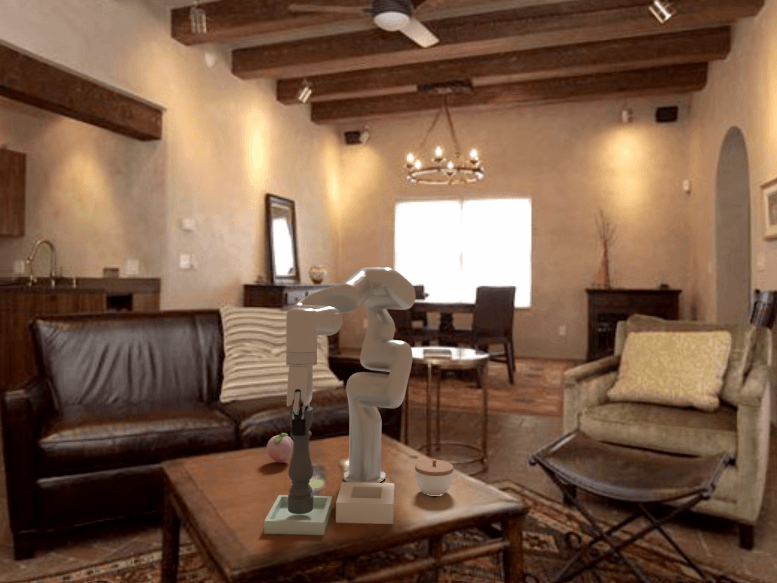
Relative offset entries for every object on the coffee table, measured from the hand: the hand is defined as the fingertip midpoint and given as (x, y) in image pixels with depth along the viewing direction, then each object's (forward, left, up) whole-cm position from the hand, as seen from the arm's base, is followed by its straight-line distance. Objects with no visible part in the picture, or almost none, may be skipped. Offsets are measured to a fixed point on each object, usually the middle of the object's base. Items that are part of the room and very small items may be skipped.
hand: (301, 430), depth 145 cm
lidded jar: (-20, +34, -22) cm, 45 cm away
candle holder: (0, 0, -20) cm, 20 cm away
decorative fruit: (-42, -14, -22) cm, 50 cm away
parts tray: (0, 0, -22) cm, 22 cm away
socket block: (-6, +16, -22) cm, 28 cm away
